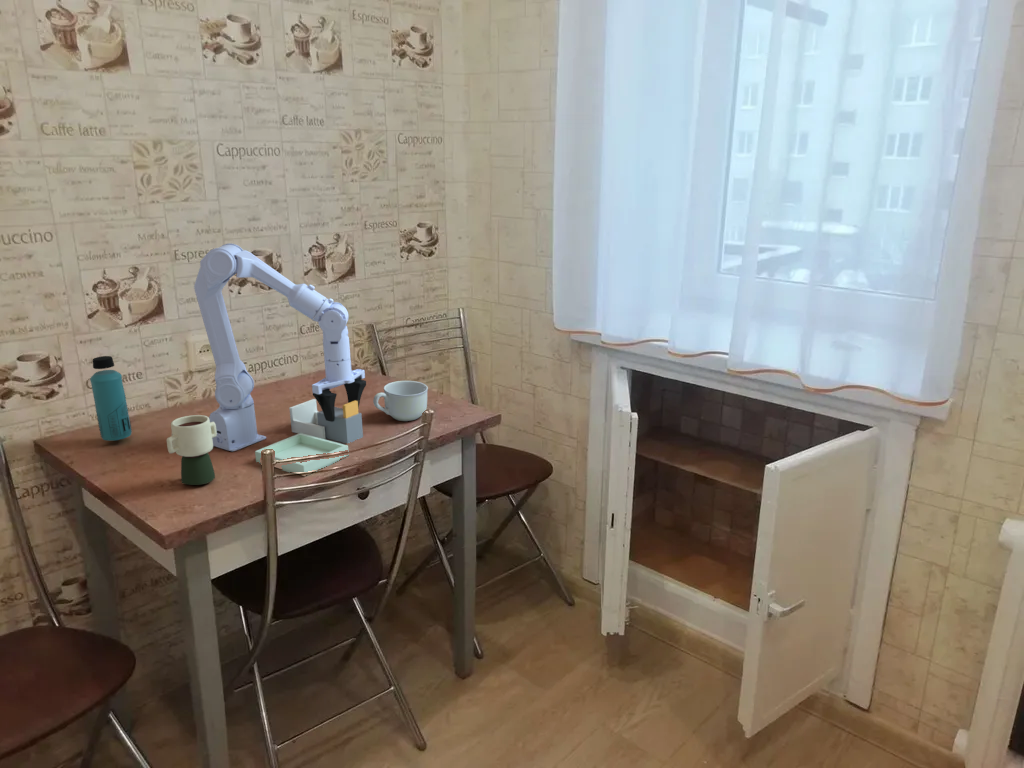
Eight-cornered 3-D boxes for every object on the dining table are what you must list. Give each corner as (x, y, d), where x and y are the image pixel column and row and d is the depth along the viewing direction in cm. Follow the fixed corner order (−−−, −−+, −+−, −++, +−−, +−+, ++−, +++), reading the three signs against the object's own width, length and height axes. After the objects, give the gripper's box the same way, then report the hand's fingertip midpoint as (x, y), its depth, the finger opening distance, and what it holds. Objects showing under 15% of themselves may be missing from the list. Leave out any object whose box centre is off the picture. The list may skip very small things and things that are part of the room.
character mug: (209, 468, 153) (201, 409, 149) (233, 475, 150) (225, 415, 146) (163, 488, 144) (153, 426, 140) (186, 496, 141) (177, 432, 137)
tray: (304, 477, 149) (303, 465, 148) (256, 462, 156) (254, 451, 155) (348, 456, 159) (348, 445, 158) (301, 443, 166) (300, 432, 166)
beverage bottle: (128, 446, 165) (113, 360, 159) (96, 448, 164) (80, 361, 158) (137, 435, 171) (123, 352, 165) (107, 437, 170) (92, 354, 164)
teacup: (420, 407, 190) (419, 377, 187) (435, 420, 180) (433, 389, 178) (367, 415, 184) (365, 385, 182) (379, 429, 175) (377, 397, 172)
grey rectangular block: (347, 444, 166) (344, 406, 163) (319, 436, 170) (315, 400, 168) (363, 437, 170) (360, 400, 167) (334, 430, 174) (331, 394, 172)
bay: (323, 440, 168) (320, 415, 166) (291, 431, 173) (289, 407, 172) (346, 430, 174) (344, 406, 172) (315, 422, 179) (313, 398, 178)
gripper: (326, 368, 156) (331, 428, 160) (373, 353, 168) (376, 409, 172) (303, 364, 160) (308, 422, 164) (350, 349, 172) (354, 404, 176)
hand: (342, 415), depth 168 cm, fingers open, 7 cm apart
